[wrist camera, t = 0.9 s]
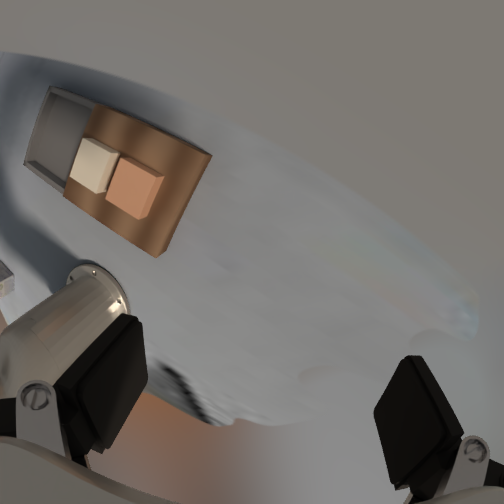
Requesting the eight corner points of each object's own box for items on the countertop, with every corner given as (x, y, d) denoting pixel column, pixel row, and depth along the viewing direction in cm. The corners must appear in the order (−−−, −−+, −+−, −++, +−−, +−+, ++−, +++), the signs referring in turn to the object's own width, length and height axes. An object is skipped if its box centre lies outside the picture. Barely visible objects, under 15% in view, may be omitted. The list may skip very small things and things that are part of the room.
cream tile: (120, 153, 27) (110, 153, 25) (105, 191, 29) (96, 193, 27) (92, 138, 27) (82, 137, 25) (79, 175, 29) (69, 176, 27)
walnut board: (212, 155, 29) (205, 154, 26) (166, 250, 33) (155, 258, 31) (109, 106, 29) (95, 103, 26) (76, 193, 33) (62, 196, 30)
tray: (107, 106, 29) (97, 104, 26) (75, 192, 33) (64, 195, 30) (60, 87, 28) (49, 85, 26) (33, 163, 32) (23, 164, 30)
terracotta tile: (164, 176, 28) (156, 177, 26) (147, 216, 29) (138, 219, 27) (130, 157, 27) (120, 157, 25) (114, 196, 29) (105, 198, 27)
